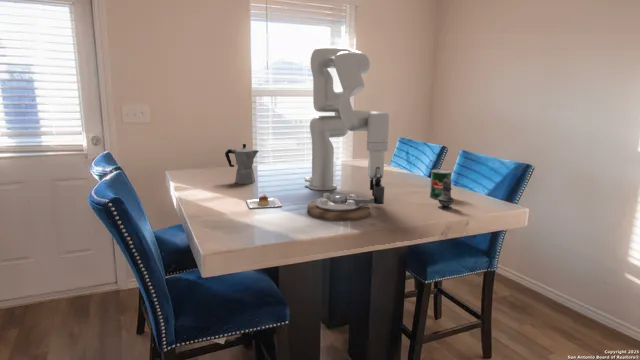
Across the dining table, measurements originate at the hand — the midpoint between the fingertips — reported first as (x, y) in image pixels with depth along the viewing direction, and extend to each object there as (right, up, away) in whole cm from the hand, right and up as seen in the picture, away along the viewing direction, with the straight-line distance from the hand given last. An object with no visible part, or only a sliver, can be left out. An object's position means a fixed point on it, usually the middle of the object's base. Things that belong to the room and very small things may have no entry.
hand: (375, 193), depth 156 cm
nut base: (-14, -6, -6) cm, 16 cm away
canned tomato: (+28, -3, +17) cm, 33 cm away
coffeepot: (-56, +3, +43) cm, 71 cm away
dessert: (-42, -5, +3) cm, 42 cm away
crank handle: (-10, -4, -7) cm, 13 cm away
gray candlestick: (+26, -6, 0) cm, 26 cm away
